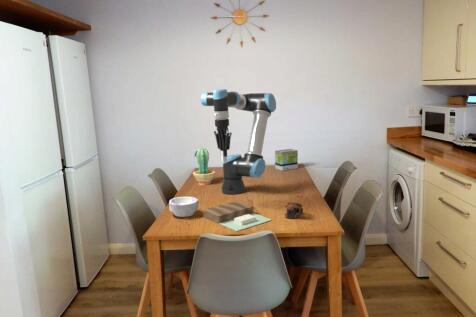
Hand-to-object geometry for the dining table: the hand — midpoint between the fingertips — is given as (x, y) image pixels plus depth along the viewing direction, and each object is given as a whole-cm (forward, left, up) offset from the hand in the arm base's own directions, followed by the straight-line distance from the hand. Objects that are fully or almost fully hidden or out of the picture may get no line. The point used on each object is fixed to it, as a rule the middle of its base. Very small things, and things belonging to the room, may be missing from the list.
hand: (224, 162), depth 215 cm
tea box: (-92, -46, -26) cm, 106 cm away
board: (+8, +13, -25) cm, 29 cm away
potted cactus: (-20, -54, -26) cm, 63 cm away
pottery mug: (-16, +37, -26) cm, 48 cm away
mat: (+8, +27, -25) cm, 38 cm away
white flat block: (+8, +26, -23) cm, 36 cm away
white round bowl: (+24, -5, -26) cm, 35 cm away
